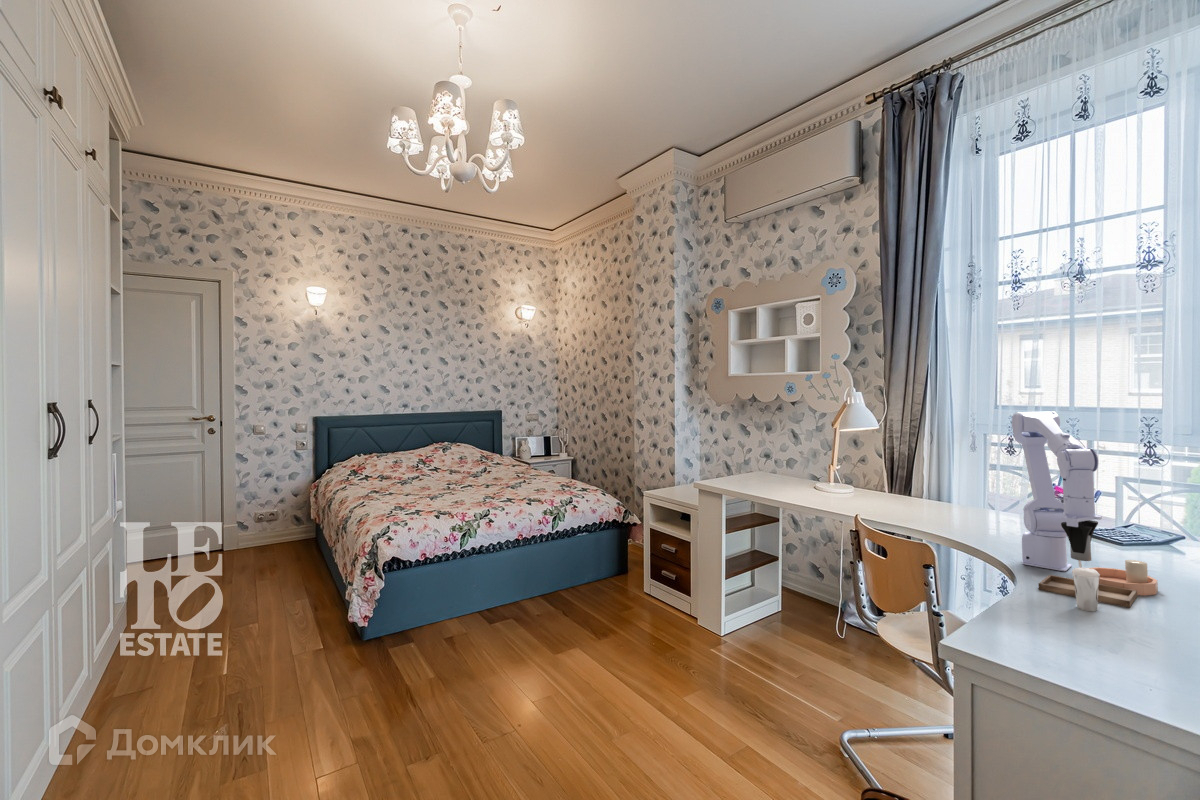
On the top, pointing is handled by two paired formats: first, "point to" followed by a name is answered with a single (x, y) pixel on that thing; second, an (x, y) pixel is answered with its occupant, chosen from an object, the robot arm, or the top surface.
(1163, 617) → the top surface
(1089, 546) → the grey cylinder
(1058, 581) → the tray
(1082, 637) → the top surface
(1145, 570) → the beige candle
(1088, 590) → the milkshake
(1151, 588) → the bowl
